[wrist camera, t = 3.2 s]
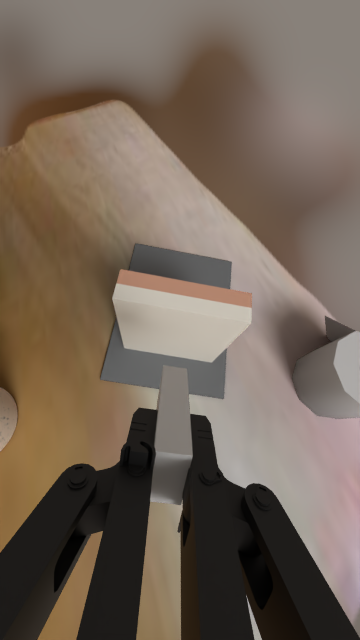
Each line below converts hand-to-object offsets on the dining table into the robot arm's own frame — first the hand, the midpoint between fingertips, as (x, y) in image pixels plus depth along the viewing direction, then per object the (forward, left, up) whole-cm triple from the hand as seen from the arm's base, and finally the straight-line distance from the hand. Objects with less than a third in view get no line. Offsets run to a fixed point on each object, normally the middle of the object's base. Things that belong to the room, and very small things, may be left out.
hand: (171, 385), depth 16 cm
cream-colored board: (-4, +7, -17) cm, 19 cm away
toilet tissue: (+14, +20, -17) cm, 30 cm away
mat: (-7, +11, -17) cm, 22 cm away
